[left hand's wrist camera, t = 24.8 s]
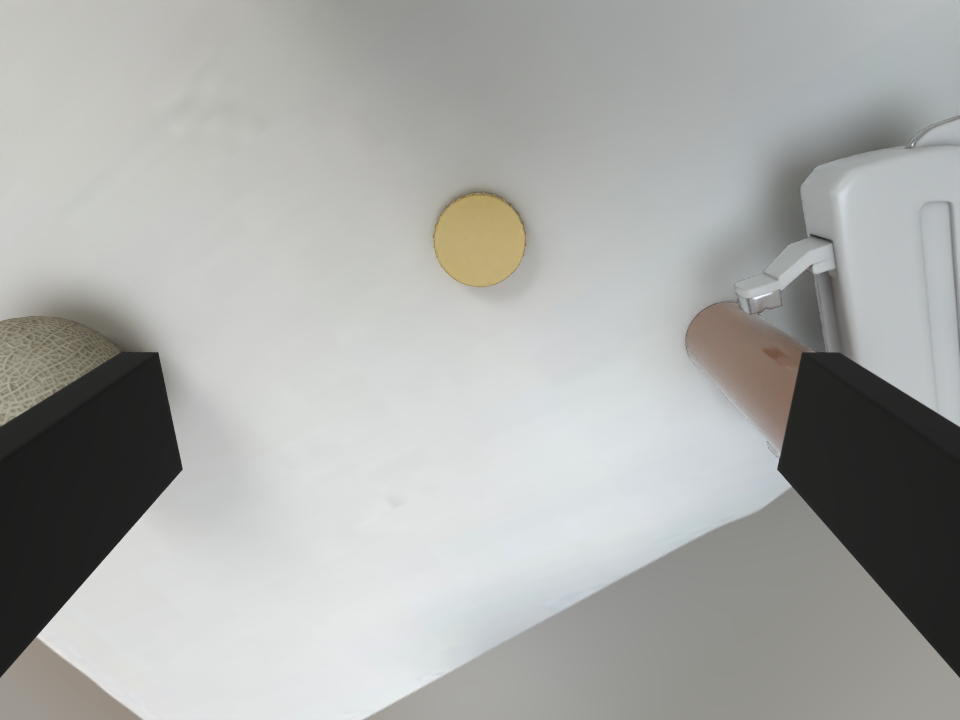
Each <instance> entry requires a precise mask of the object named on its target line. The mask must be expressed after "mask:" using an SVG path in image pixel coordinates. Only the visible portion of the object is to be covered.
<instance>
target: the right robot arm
mask: <svg viewBox="0 0 960 720" xmlns="http://www.w3.org/2000/svg"><path fill="white" fill-rule="evenodd" d="M800 193H801V200H802V206H803V212H804V219H805V225H806V231H807V237H808V238H805V239H802V240H799V241H797V242H794V243H791V244H789V245H788V246H787V247H786V248H785V249H784V250H783V251H782V252H781V253H780V254H779V255H778V256H777V257H776V258H775V259H774V260H773V261H772V262H771V263H770V264H769V265H768V266H767V268H766V269H765V270H764V271H763V273H762V274H759V275H756V276H753V277H750V278H747V279H744V280H741V281H739V282H737V283H735V285H734V287H735V292H736V297H737V301H738V306H739V309H740V310H743V311H744V312H745V313H746V314H750V315H751V314H757V313H761V312H762V311H763V310H764V309H765V308H767V309H773V308H776V307H779V306H782V300H781V294H780V291H782V290H783V289H784V288H786V287H787V286H788V285H789V284H790V283H791V282H792V281H794V280H795V279H796V278H797V277H798V276H799V275H800V274H801V273H803V272H804V271H805V270H806V271H808V272H811V273H813V275H814V281H815V287H816V294H817V300H818V306H819V313H820V319H821V325H822V331H823V338H824V344H825V350H826V352H840V353H841V354H843V355H845V356H846V357H848V358H849V359H851V360H853V361H854V362H856V363H857V364H859V365H861V366H862V367H864V368H866V369H867V370H869V371H870V372H872V373H874V374H875V375H877V376H878V377H880V378H882V379H883V380H885V381H887V382H888V383H890V384H891V385H893V386H895V387H896V388H898V389H899V390H901V391H903V392H904V393H906V394H908V395H909V396H911V397H912V398H914V399H916V400H917V401H919V402H920V403H922V404H924V405H925V406H927V407H929V408H930V409H932V410H933V411H935V412H937V413H938V414H940V415H941V416H943V417H945V418H946V419H948V420H950V421H951V422H953V423H954V424H956V425H958V426H959V427H960V115H959V116H955V117H953V118H950V119H947V120H944V121H941V122H938V123H936V124H933V125H930V126H928V127H926V128H924V129H923V130H921V131H920V132H919V133H917V134H916V135H915V136H914V137H913V138H912V139H911V140H910V141H909V143H908V144H907V145H906V146H898V147H892V148H886V149H880V150H875V151H870V152H866V153H861V154H857V155H853V156H849V157H845V158H841V159H838V160H835V161H831V162H828V163H825V164H822V165H820V166H817V167H816V168H815V169H814V170H813V171H812V172H811V174H810V175H809V176H808V177H807V178H806V180H805V181H804V182H803V184H802V185H801V188H800ZM767 445H768V448H769V450H770V451H771V452H772V453H773V454H774V455H775V456H776V457H779V458H780V454H779V453H778V452H777V451H776V449H775V448H774V447H773V446H772V445H771V444H770V443H769V442H768V441H767Z"/></svg>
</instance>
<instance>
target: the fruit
mask: <svg viewBox="0 0 960 720" xmlns="http://www.w3.org/2000/svg"><path fill="white" fill-rule="evenodd" d="M120 352H121V351H120V350H119V349H118V348H117V347H116V346H115V345H114V344H113V343H112V342H110V341H109V340H108V339H106V338H105V337H104V336H102V335H101V334H99V333H97V332H96V331H93V330H91V329H90V328H88V327H86V326H84V325H81V324H79V323H76V322H73V321H69V320H65V319H61V318H55V317H42V316H31V317H23V318H13V319H8V320H3V321H0V427H1V426H2V425H4V424H6V423H7V422H9V421H10V420H12V419H14V418H15V417H17V416H19V415H20V414H22V413H23V412H25V411H27V410H28V409H30V408H31V407H33V406H35V405H36V404H38V403H40V402H41V401H43V400H44V399H46V398H48V397H49V396H51V395H52V394H54V393H56V392H57V391H59V390H61V389H62V388H64V387H65V386H67V385H69V384H70V383H72V382H73V381H75V380H77V379H78V378H80V377H82V376H83V375H85V374H86V373H88V372H90V371H91V370H93V369H94V368H96V367H98V366H99V365H101V364H103V363H104V362H106V361H107V360H109V359H111V358H112V357H114V356H115V355H117V354H119V353H120Z"/></svg>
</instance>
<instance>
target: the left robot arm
mask: <svg viewBox="0 0 960 720" xmlns="http://www.w3.org/2000/svg"><path fill="white" fill-rule="evenodd" d="M182 470H183V469H182V464H181V459H180V454H179V450H178V445H177V440H176V435H175V430H174V426H173V421H172V416H171V411H170V407H169V402H168V397H167V392H166V388H165V383H164V378H163V373H162V369H161V364H160V359H159V354H158V352H120V353H119V354H117V355H115V356H114V357H112V358H111V359H109V360H107V361H106V362H104V363H103V364H101V365H99V366H98V367H96V368H94V369H93V370H91V371H90V372H88V373H86V374H85V375H83V376H82V377H80V378H78V379H77V380H75V381H73V382H72V383H70V384H69V385H67V386H65V387H64V388H62V389H61V390H59V391H57V392H56V393H54V394H52V395H51V396H49V397H48V398H46V399H44V400H43V401H41V402H40V403H38V404H36V405H35V406H33V407H31V408H30V409H28V410H27V411H25V412H23V413H22V414H20V415H19V416H17V417H15V418H14V419H12V420H10V421H9V422H7V423H6V424H4V425H2V426H1V427H0V677H1V676H2V675H3V674H4V673H5V672H6V671H7V669H8V668H9V667H10V666H11V665H12V664H13V663H14V661H15V660H16V659H17V658H18V657H19V656H20V655H21V653H22V652H23V651H24V650H25V649H26V648H27V647H28V645H29V644H30V643H31V642H32V641H33V640H34V639H35V637H36V636H37V635H38V634H39V633H40V632H41V631H42V629H43V628H44V627H45V626H46V625H47V624H48V623H49V621H50V620H51V619H52V618H53V617H54V616H55V615H56V613H57V612H58V611H59V610H60V609H61V608H62V607H63V605H64V604H65V603H66V602H67V601H68V600H69V599H70V597H71V596H72V595H73V594H74V593H75V592H76V591H77V589H78V588H79V587H80V586H81V585H82V584H83V583H84V581H85V580H86V579H87V578H88V577H89V576H90V575H91V573H92V572H93V571H94V570H95V569H96V568H97V567H98V565H99V564H100V563H101V562H102V561H103V560H104V559H105V557H106V556H107V555H108V554H109V553H110V552H111V551H112V550H113V548H114V547H115V546H116V545H117V544H118V543H119V542H120V540H121V539H122V538H123V537H124V536H125V535H126V534H127V532H128V531H129V530H130V529H131V528H132V527H133V526H134V524H135V523H136V522H137V521H138V520H139V519H140V518H141V516H142V515H143V514H144V513H145V512H146V511H147V510H148V508H149V507H150V506H151V505H152V504H153V503H154V502H155V500H156V499H157V498H158V497H159V496H160V495H161V494H162V492H163V491H164V490H165V489H166V488H167V487H168V486H169V484H170V483H171V482H172V481H173V480H174V479H175V478H176V476H177V475H178V474H179V473H180V472H181V471H182ZM777 470H778V471H779V472H780V473H781V474H782V475H783V476H784V478H785V479H786V480H787V481H788V482H789V483H790V484H791V486H792V487H793V488H794V489H795V490H796V491H797V492H798V494H799V495H800V496H801V497H802V498H803V499H804V500H805V502H806V503H807V504H808V505H809V506H810V507H811V508H812V510H813V511H814V512H815V513H816V514H817V515H818V516H819V518H820V519H821V520H822V521H823V522H824V523H825V524H826V525H827V527H828V528H829V529H830V530H831V531H832V532H833V534H834V535H835V536H836V537H837V538H838V539H839V540H840V541H841V543H842V544H843V545H844V546H845V547H846V548H847V550H848V551H849V552H850V553H851V554H852V555H853V556H854V557H855V559H856V560H857V561H858V562H859V563H860V564H861V565H862V567H863V568H864V569H865V570H866V571H867V572H868V573H869V575H870V576H871V577H872V578H873V579H874V580H875V581H876V583H877V584H878V585H879V586H880V587H881V588H882V589H883V591H884V592H885V593H886V594H887V595H888V596H889V597H890V599H891V600H892V601H893V602H894V603H895V604H896V605H897V607H898V608H899V609H900V610H901V611H902V612H903V613H904V615H905V616H906V617H907V618H908V619H909V620H910V621H911V623H912V624H913V625H914V626H915V627H916V628H917V629H918V631H919V632H920V633H921V634H922V635H923V636H924V637H925V639H926V640H927V641H928V642H929V643H930V644H931V645H932V647H933V648H934V649H935V650H936V651H937V652H938V653H939V654H940V656H941V657H942V658H943V659H944V660H945V661H946V662H947V664H948V665H949V666H950V667H951V668H952V669H953V671H954V672H955V673H956V674H957V675H958V676H959V677H960V427H959V426H958V425H956V424H954V423H953V422H951V421H950V420H948V419H946V418H945V417H943V416H941V415H940V414H938V413H937V412H935V411H933V410H932V409H930V408H929V407H927V406H925V405H924V404H922V403H920V402H919V401H917V400H916V399H914V398H912V397H911V396H909V395H908V394H906V393H904V392H903V391H901V390H899V389H898V388H896V387H895V386H893V385H891V384H890V383H888V382H887V381H885V380H883V379H882V378H880V377H878V376H877V375H875V374H874V373H872V372H870V371H869V370H867V369H866V368H864V367H862V366H861V365H859V364H857V363H856V362H854V361H853V360H851V359H849V358H848V357H846V356H845V355H843V354H841V353H840V352H802V354H801V359H800V364H799V369H798V373H797V378H796V383H795V388H794V392H793V397H792V402H791V407H790V411H789V416H788V421H787V426H786V430H785V435H784V440H783V445H782V450H781V454H780V459H779V464H778V469H777Z"/></svg>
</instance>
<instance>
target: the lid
mask: <svg viewBox="0 0 960 720" xmlns="http://www.w3.org/2000/svg"><path fill="white" fill-rule="evenodd" d="M439 218H440V219H439V221H438V224H436V226H435V228H436V230H435V234H434V236H433V238H434V248H435V252H436V257H437V258H438V261H439V263H440V264H441V266H442V267H443V269H444V270H445V271H446V272H447V273H448V274H449V275H450V276H451V277H452V278H454V279H455V280H457V281H459V282H460V283H463V284H465V285H469V286H475V287H484V286H490V285H494V284H496V283H499V282H501V281H503V280H504V279H506V278H507V277H508V276H510V275H511V274H512V273H513V272H514V270H515V269H516V268H517V267H518V265H519V263H520V261H521V259H522V257H523V255H524V254H523V253H524V249H525V246H526V243H525V236H526V233H525V231H524V228H523V225H524V224H523V222H522V221H521V220H520V218H519V214H518V212H517V213H516V212H515V210H514V209H513V206H512V205H511V204H510V205H509V204H508V203H507V202H506V201H505V200H504V198H502V199H501V198H499V197H497V196H495V194H493V195H491V194H487V193H485V192H483V193H474V192H472V194H468V195H464V194H463V195H462V197H460V198H458V199H457V200H455V199H454V200H453V202H452V203H451V204H450V205H449V206H446V207H445V211H444V212H443V213H442V214H440V216H439Z"/></svg>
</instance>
